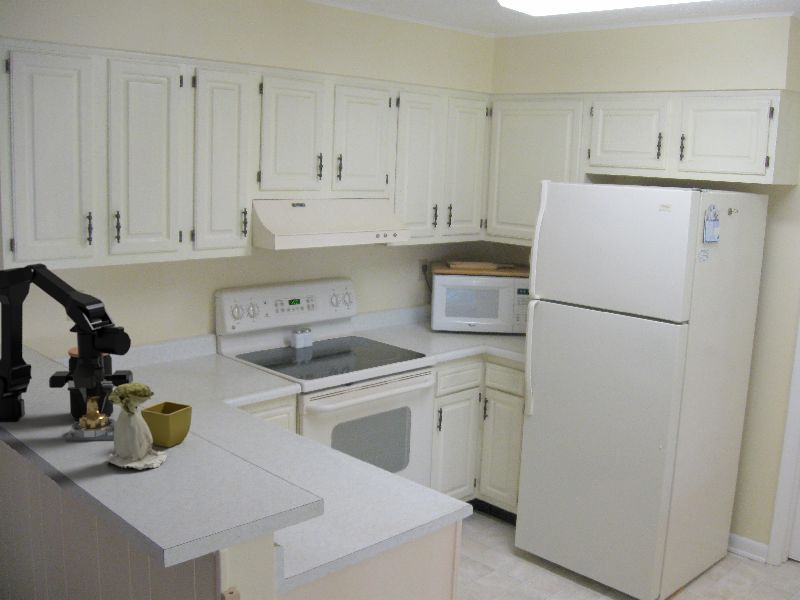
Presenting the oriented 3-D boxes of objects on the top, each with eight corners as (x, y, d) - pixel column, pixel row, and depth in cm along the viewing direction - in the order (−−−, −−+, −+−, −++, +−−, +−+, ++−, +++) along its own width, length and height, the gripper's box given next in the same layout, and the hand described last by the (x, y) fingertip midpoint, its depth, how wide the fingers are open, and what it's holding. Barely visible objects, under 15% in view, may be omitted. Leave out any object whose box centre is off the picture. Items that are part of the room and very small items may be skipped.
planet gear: (79, 429, 207) (77, 401, 206) (81, 421, 213) (79, 394, 212) (107, 427, 209) (105, 399, 208) (108, 419, 215) (106, 392, 214)
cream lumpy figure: (141, 475, 185) (137, 393, 182) (95, 466, 190) (91, 386, 187) (176, 458, 195) (173, 380, 192) (132, 450, 201) (128, 374, 198)
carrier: (66, 441, 206) (65, 431, 205) (77, 427, 216) (76, 418, 216) (146, 439, 208) (146, 429, 208) (154, 425, 218) (153, 416, 218)
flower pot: (141, 445, 204) (139, 409, 202) (166, 435, 211) (165, 400, 210) (169, 452, 200) (167, 415, 198) (194, 441, 207) (193, 405, 206)
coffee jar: (120, 411, 230) (118, 346, 227) (101, 423, 219) (99, 355, 216) (83, 408, 231) (81, 344, 228) (62, 420, 221) (59, 353, 218)
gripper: (40, 359, 199) (44, 423, 202) (123, 358, 201) (125, 422, 204) (54, 348, 210) (57, 409, 213) (132, 347, 212) (134, 408, 215)
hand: (93, 412), depth 211 cm, fingers closed on planet gear, 3 cm apart
